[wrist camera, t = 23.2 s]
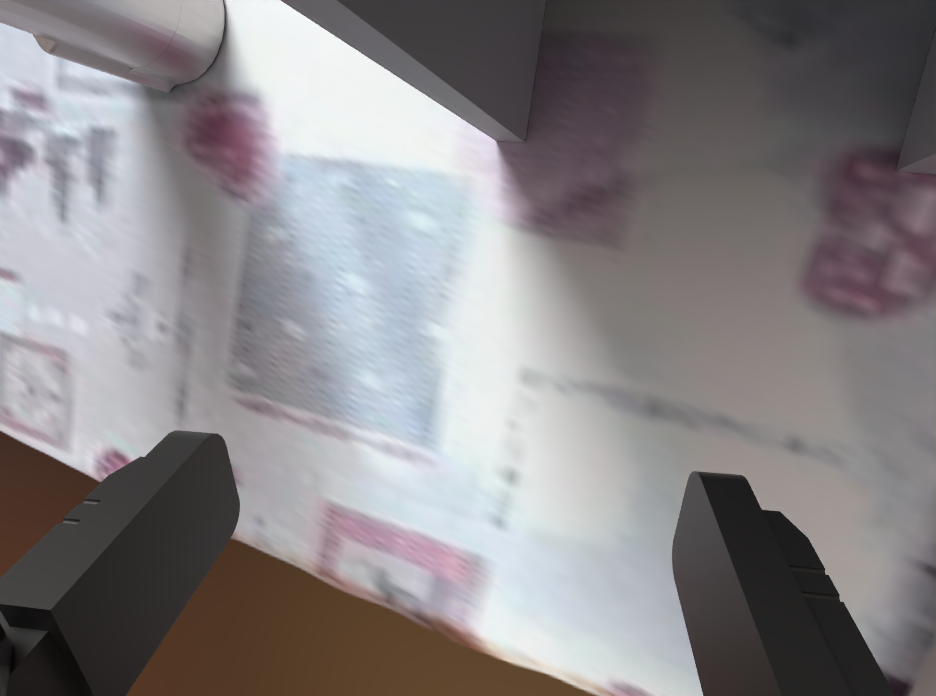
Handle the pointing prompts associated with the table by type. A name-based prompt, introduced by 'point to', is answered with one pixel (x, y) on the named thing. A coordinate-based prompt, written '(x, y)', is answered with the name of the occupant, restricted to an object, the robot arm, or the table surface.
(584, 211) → the table surface
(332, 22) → the gray shelf
